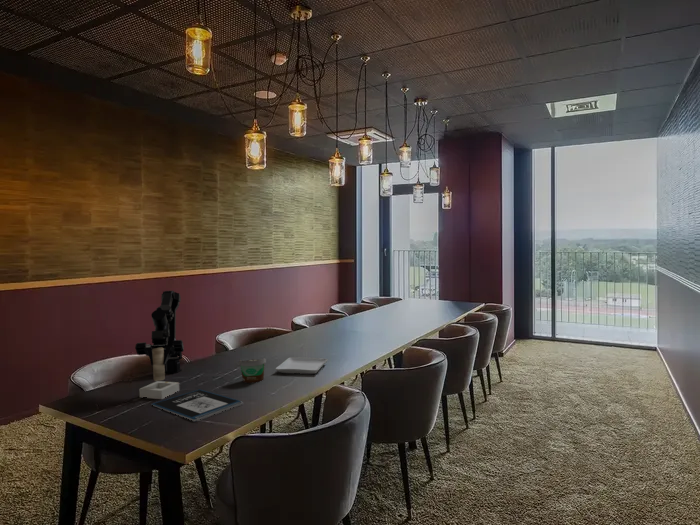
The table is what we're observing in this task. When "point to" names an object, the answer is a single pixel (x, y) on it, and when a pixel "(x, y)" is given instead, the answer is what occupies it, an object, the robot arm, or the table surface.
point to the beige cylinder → (158, 364)
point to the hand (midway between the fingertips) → (158, 364)
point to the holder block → (159, 389)
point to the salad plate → (301, 365)
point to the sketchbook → (197, 404)
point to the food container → (252, 370)
